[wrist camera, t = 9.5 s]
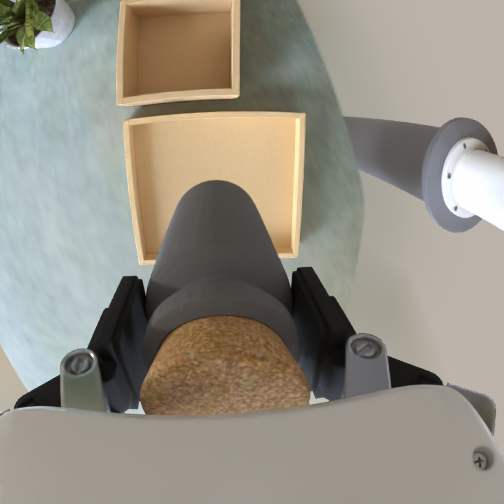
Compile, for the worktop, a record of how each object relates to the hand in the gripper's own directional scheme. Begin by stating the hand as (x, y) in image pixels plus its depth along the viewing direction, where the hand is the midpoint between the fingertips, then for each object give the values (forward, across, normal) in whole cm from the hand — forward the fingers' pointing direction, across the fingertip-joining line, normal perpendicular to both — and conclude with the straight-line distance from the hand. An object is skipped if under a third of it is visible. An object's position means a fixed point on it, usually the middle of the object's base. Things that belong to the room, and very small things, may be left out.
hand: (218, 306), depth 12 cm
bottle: (+10, 0, 0) cm, 10 cm away
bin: (+21, +3, -14) cm, 25 cm away
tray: (+21, 0, 0) cm, 21 cm away
